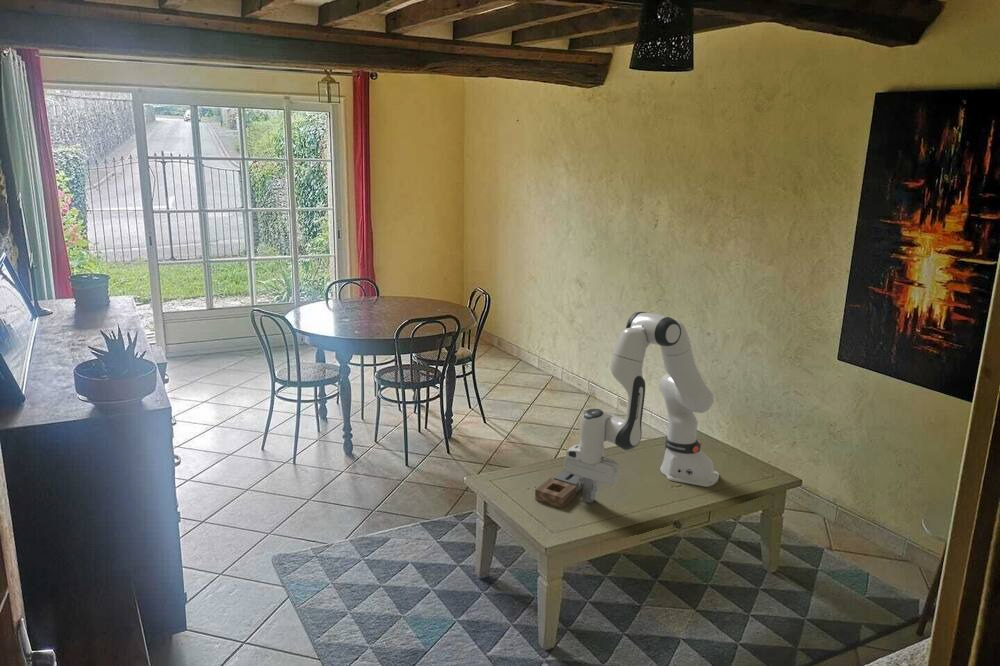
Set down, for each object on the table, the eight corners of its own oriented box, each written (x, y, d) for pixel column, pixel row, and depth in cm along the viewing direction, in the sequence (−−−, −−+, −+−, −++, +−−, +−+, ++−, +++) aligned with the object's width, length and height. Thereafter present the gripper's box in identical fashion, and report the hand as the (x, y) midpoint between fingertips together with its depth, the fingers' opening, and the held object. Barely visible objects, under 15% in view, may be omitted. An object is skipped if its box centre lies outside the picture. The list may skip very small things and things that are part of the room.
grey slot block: (585, 484, 272) (586, 475, 270) (574, 494, 264) (575, 484, 263) (564, 478, 276) (565, 469, 275) (553, 487, 269) (553, 477, 268)
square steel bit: (594, 500, 260) (596, 474, 258) (590, 503, 257) (592, 478, 255) (586, 497, 262) (587, 472, 259) (582, 501, 259) (583, 476, 257)
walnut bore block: (575, 495, 263) (576, 485, 262) (561, 507, 254) (562, 497, 253) (549, 487, 269) (550, 478, 268) (535, 499, 260) (535, 489, 259)
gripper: (621, 457, 252) (619, 493, 256) (570, 444, 263) (568, 478, 266) (614, 464, 247) (612, 500, 250) (562, 450, 258) (560, 484, 261)
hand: (589, 488), depth 258 cm, fingers open, 5 cm apart
